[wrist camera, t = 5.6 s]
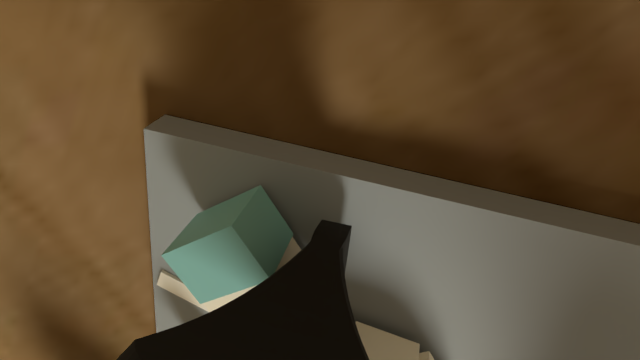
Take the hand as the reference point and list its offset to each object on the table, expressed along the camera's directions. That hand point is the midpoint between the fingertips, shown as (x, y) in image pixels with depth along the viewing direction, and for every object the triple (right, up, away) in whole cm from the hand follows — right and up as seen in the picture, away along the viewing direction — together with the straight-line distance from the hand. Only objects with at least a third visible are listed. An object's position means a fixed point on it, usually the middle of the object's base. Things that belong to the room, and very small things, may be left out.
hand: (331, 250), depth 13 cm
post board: (+1, -5, +4) cm, 6 cm away
